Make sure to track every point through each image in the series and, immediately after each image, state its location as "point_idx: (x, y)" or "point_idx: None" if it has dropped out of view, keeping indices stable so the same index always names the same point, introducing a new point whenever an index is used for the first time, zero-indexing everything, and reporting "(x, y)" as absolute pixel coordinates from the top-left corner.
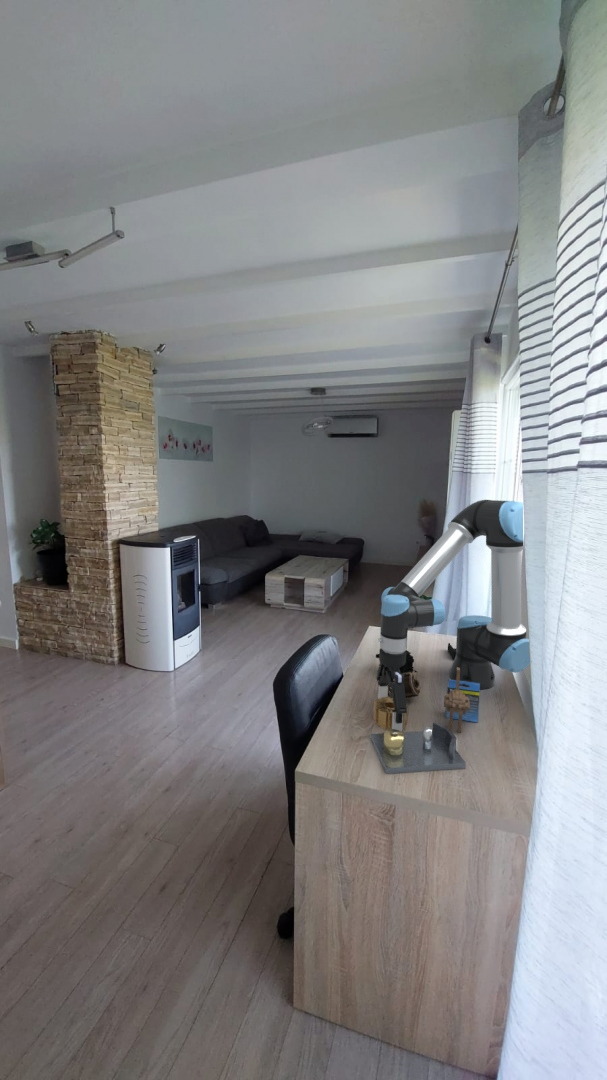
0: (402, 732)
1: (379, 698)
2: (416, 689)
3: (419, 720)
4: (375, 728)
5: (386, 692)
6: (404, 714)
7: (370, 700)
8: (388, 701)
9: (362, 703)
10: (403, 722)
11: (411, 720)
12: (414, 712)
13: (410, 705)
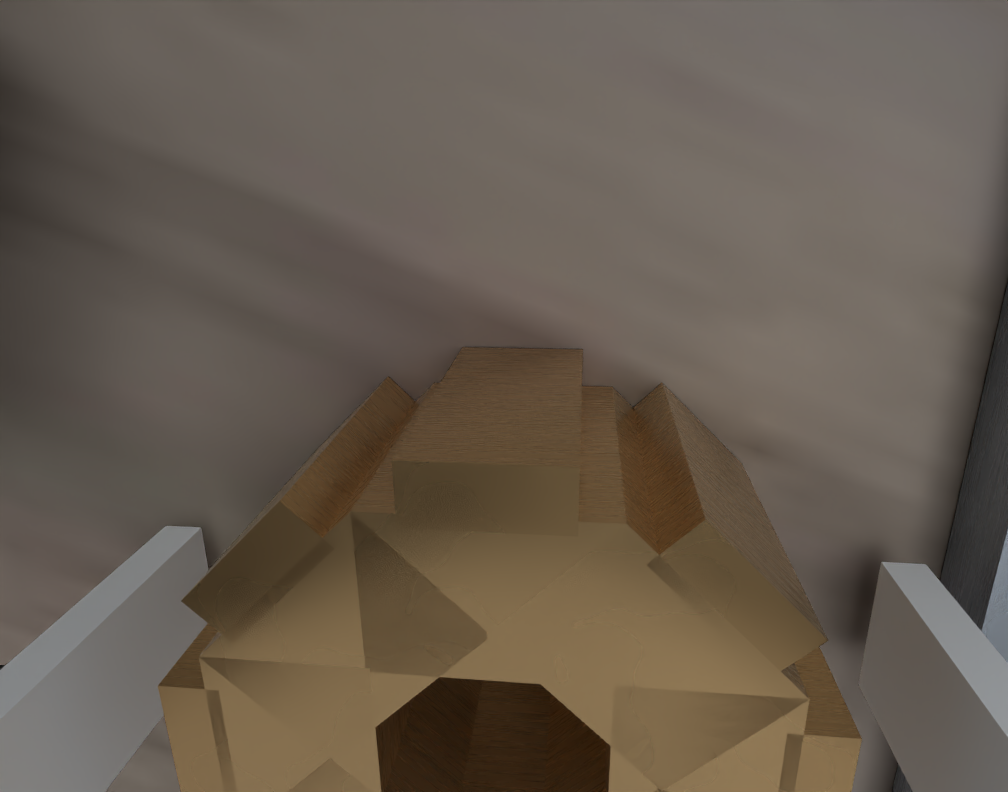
0: (1004, 603)
1: (135, 741)
2: None
3: (548, 101)
4: None
5: (23, 727)
6: (781, 570)
7: (9, 631)
8: (344, 758)
9: None
10: (760, 508)
11: (534, 248)
12: (289, 97)
13: (62, 86)
